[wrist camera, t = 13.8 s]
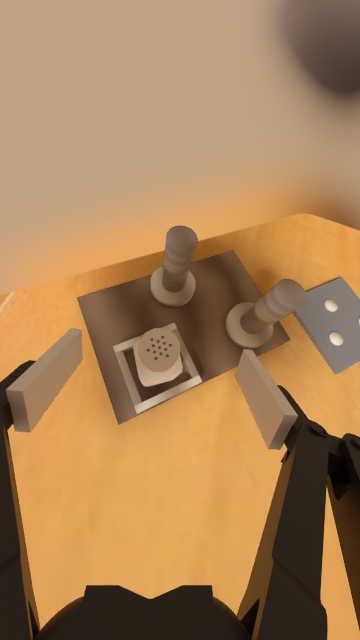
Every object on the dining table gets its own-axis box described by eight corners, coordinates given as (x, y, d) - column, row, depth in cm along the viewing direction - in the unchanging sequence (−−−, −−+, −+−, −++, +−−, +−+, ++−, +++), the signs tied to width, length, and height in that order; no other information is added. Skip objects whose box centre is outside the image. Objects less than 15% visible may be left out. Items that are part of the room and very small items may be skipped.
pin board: (120, 423, 22) (95, 443, 12) (80, 301, 27) (38, 244, 17) (284, 341, 29) (355, 311, 19) (230, 255, 33) (264, 193, 23)
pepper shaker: (168, 346, 25) (178, 318, 16) (176, 379, 23) (192, 367, 15) (136, 354, 24) (127, 328, 15) (142, 388, 23) (137, 381, 14)
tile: (334, 373, 28) (340, 373, 27) (285, 301, 31) (289, 298, 30) (388, 341, 31) (394, 339, 30) (338, 278, 34) (343, 275, 34)
